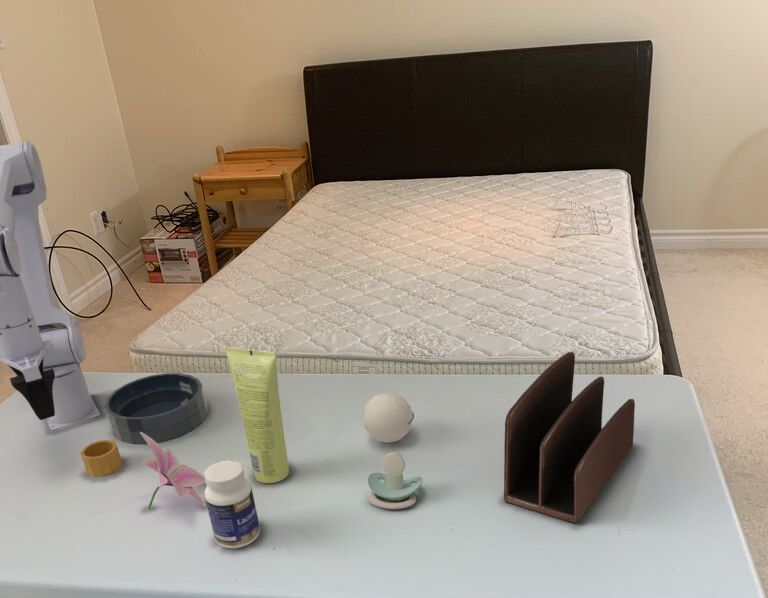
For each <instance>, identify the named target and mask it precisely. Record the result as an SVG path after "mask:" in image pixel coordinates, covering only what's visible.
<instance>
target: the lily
mask: <svg viewBox="0 0 768 598" xmlns="http://www.w3.org/2000/svg"><path fill="white" fill-rule="evenodd" d="M140 434H141V435H142V437H143V438H144V439H145V441H146V442H147V443H148V444H147V445H148V447H149V449H151V452H152V454H153V456H154V458H155V459H154V458H146V459H144V460H142V462H141V463H142V465H144V466H145V467H148V468H149V469H151V470H153V471H155V472H156V473H158V478H159V483H158V485H157V487H156V488H155V490H154V491H153V494H152V496H151V499H150V501H149V504H148V507H147V509H148V510H151V508H152V505H153V502H154V499H155V496H156V495H157V493H158V491H159V490H160V488H161V487H162V486H167V487H172V488H173V489H174V490H175V492H176V494H177V495H178V497H179V498H180V499H181V500H185V499H186V498H187V497H188V495H190V496H191V497H192V498H194V499H195V500H196V501H197V502H198V503H200V504H201V505H202V506H203V507H204V508H207V504H205V503H206V502H205V501H204V499H203V498H202V496H201V495H200V493H199V492H198V491H197V489H196V488H195V487H197V486H200V485H202V484H206V483H205V477H204V475H202V474H201V473H200V472H198V471H197V470H195V469H194V468H192V467H191V466H188V465H187V464H180V462H179V460H178V459H177V457H176V455H175V454H174V452H172V450H171V449H169V448H166V449H165V450H164V449H163V447H162V446H161V445H160V444H159V442H158V443H156V442H155V441H154V440H153V439H151V438H150V437H149V436H147V435H146V434H144V433H142V432H140Z"/></svg>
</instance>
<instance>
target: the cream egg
mask: <svg viewBox="0 0 768 598" xmlns="http://www.w3.org/2000/svg"><path fill="white" fill-rule="evenodd" d="M362 418H363V419H362V422H363V426H364V428H365V430H366V432H367V433H368V434H369V435H370V437H371V438H373V439H375V440H376V441H378V442H381V443H386V444H387V443H388V444H389V443H395V442H398V441H400V440H402V438H404V437H405V436H407V435H408V433H409V431H410V430H411V428H412V425H413V420H414V418H415V415H414V412H413V410H412V407H411V406H410V404H409V403H408V401H407V400H406V398H404V397H402V396H401V395H399V394H398V393H394V392H383V393H379V394H376V395H374V396H373V397H372V398H371V399H369V401H368V402H367V403H366V405H365V407H364V410H363V417H362Z"/></svg>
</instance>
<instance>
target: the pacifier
mask: <svg viewBox="0 0 768 598" xmlns="http://www.w3.org/2000/svg"><path fill="white" fill-rule="evenodd" d="M381 464H382V469H383V471H384V472H385V473H383V472H379V471H377V472H372V473H370V474H368V476H367V483H368V487H369V489H370V491H371V492H370V493H369V495H368V497H367V499H368V501H369V502H370V503H371V504H372V505H374V506H376V507H377V508H381V509H386V510H400V509H401V510H402V509H406V508H410V507H412V506H414V505H415V503H416V502H417V497H416V495H415V494H414V493H415V492H416V491H418V490H419V488H421V486H422V484H423V482H424V480H423V477H422V476H412V477H408V478H405V479H404V476H403V473H404V471H405V469H406V462H405V459H404V457H403V456H402V454H400V453H398V452H396V451H391V452H388V453H387V454H385V455H384V457H383V458H382V463H381ZM380 480H382V481H380ZM377 497H381V498H385V499H386V500H390V501H401V502H387V501H384V500H383V501H382V500H380V499H379V498H377ZM405 499H407V500H405ZM403 500H405V501H403Z"/></svg>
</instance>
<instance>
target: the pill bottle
mask: <svg viewBox="0 0 768 598" xmlns="http://www.w3.org/2000/svg"><path fill="white" fill-rule="evenodd" d="M203 477H204V478H205V483H204V484H205V485H206V488H205V489H204V490H205V491H204V499H205V503H206V504H205V505H206V508H207V511H208V515H209V520H210V524H211V529H212V534H213V537H214V541H215V542H216V543H217V544H218V545H219V546H220V547H223V548H225V549H240V548H243V547H247V546H248V545H250V544H252V543H253V542H254V541H255V540H257V538H258V537H259V535H260V532H261V526H260V522H259V517H258V512H257V507H256V501H255V498H254V497H255V496H254V493H253V487H252V484H251V482H250V480H248V478H247V477H246V476H245V470H244V467H243V465H242V463H241V462H239V461H236V460H221V461H218V462H215V463H213V464H211V465H209V466H208V467H207V468H206V469H205V470H204V473H203Z"/></svg>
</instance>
